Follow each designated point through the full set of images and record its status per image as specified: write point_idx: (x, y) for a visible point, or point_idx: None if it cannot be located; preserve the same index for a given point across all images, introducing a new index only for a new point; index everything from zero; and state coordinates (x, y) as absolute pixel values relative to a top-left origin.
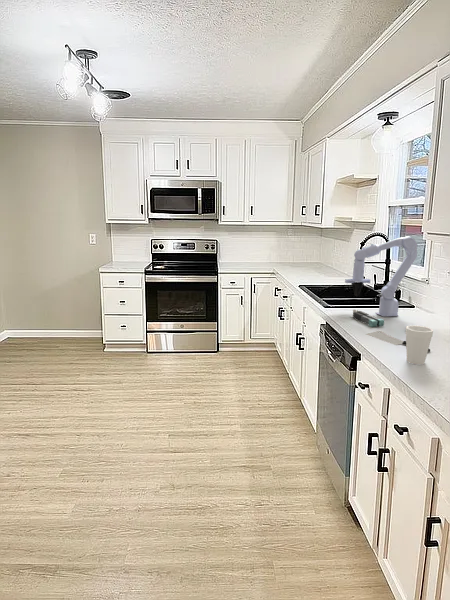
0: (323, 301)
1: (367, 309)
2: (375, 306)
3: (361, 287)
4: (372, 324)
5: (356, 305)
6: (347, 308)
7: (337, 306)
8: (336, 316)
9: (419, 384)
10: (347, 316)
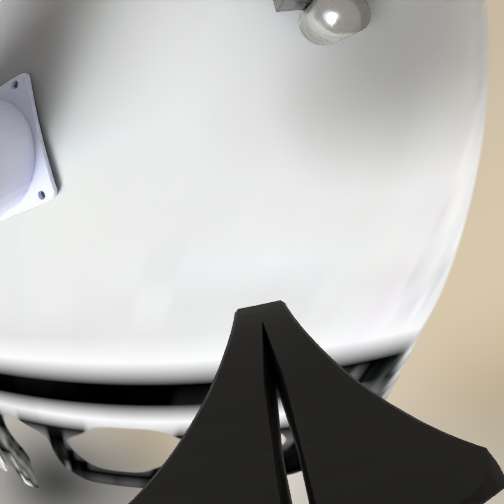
0: None
1: (100, 337)
2: (54, 398)
3: (193, 467)
4: None
5: (161, 421)
6: None
7: None
8: (458, 75)
9: None
10: (380, 57)
